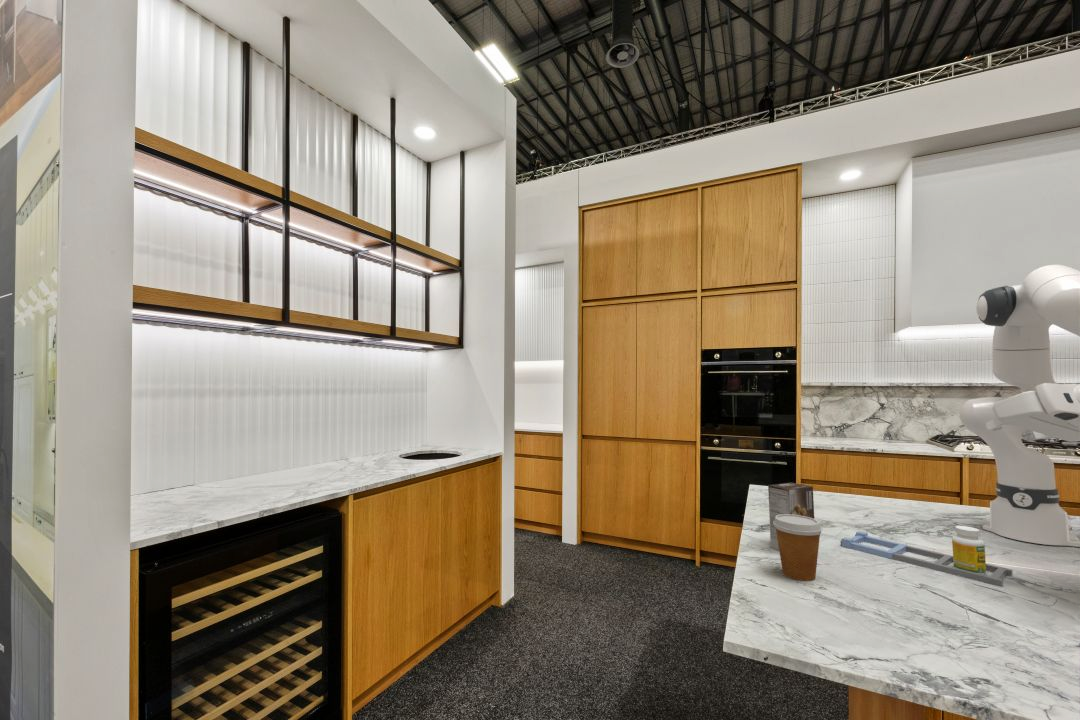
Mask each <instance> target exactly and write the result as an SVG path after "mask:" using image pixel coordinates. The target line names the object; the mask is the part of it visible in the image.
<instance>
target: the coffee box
mask: <svg viewBox="0 0 1080 720" xmlns="http://www.w3.org/2000/svg"><path fill="white" fill-rule="evenodd" d="M767 486H768V487H767V488H768V511H769V512H768V514H769V536H770V537H769V541H770V548H771V549H774V550H776V551H779V546H778V540H777V533H776V528H775V526H774V524H773V521H775V516H777V515H781V514H792V515H800V516H806V517H810V518H813V519H815V504H814V502H815V500H814V486H811V485H806V484H801V483H795V482H783V483H777V484H776V483H775V484H768V485H767Z"/></svg>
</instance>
